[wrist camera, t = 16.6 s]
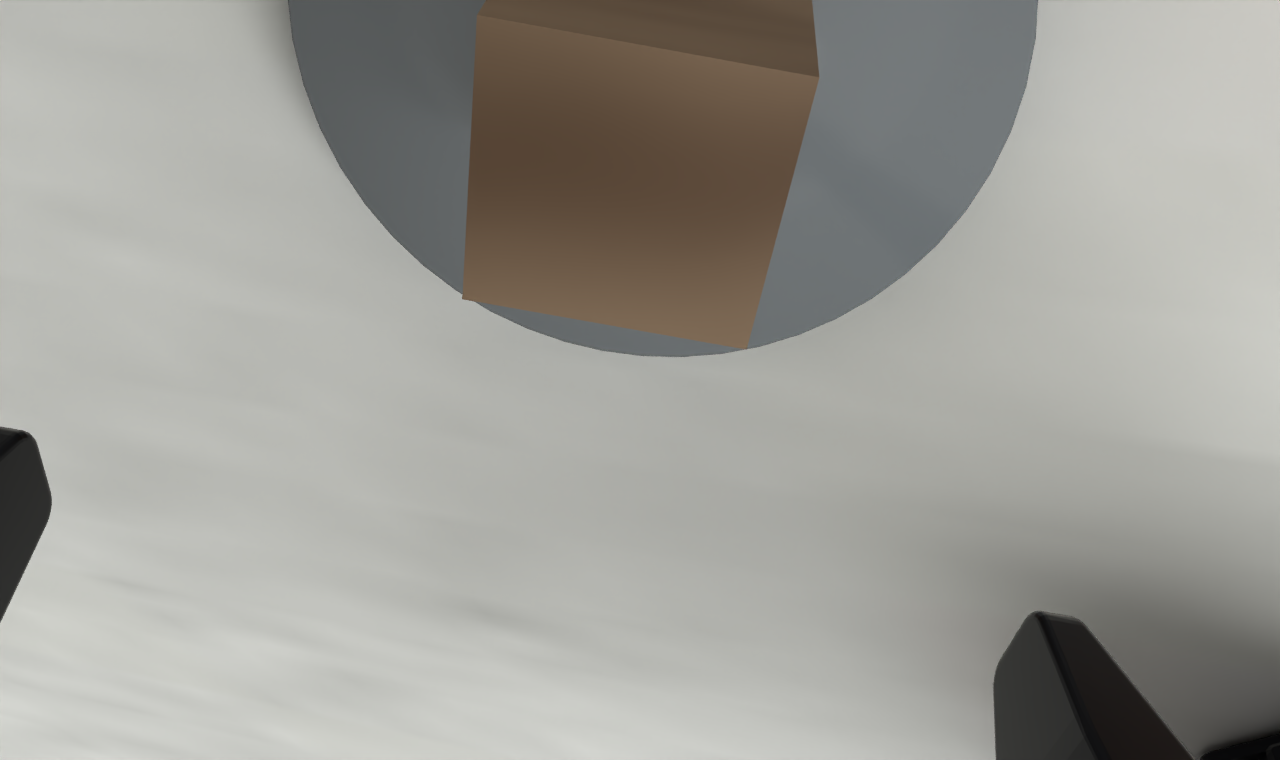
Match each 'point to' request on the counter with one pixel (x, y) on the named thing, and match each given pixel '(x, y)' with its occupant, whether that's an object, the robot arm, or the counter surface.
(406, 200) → the slate dish
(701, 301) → the walnut block
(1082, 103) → the counter surface
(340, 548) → the counter surface
